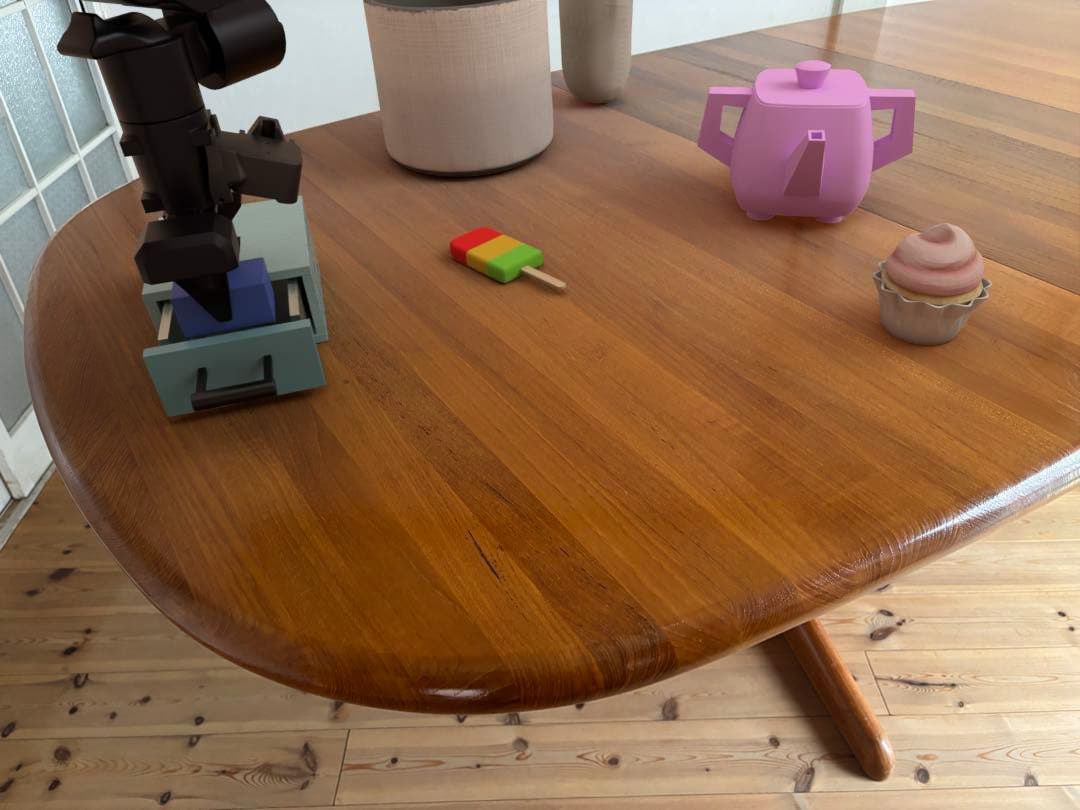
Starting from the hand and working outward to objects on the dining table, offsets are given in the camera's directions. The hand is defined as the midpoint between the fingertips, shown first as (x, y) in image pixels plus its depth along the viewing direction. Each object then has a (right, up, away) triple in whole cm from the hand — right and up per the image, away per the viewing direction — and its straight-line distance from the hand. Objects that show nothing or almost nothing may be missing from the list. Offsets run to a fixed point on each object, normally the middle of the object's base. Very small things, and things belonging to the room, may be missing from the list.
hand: (226, 305), depth 66 cm
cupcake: (+58, -1, +6) cm, 59 cm away
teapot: (+54, +15, +27) cm, 62 cm away
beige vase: (+34, +38, +58) cm, 78 cm away
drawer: (0, -5, +4) cm, 7 cm away
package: (0, -1, +1) cm, 1 cm away
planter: (+16, +27, +45) cm, 55 cm away
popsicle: (+22, +6, +18) cm, 29 cm away
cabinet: (-3, +1, +14) cm, 14 cm away
